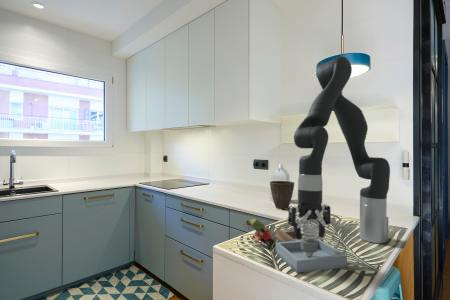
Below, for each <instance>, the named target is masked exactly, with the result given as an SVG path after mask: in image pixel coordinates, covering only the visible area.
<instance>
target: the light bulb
mask: <svg viewBox="0 0 450 300" xmlns="http://www.w3.org/2000/svg"><path fill="white" fill-rule="evenodd" d="M300 228H301V230H302V231H301V233H302V234H303V235H312V236H303V237H301V249H302V250H304V251H305V255H306V256H308V257H310V256H312V255H313V253H314V252H316V251H317V248H318V242H317V241H316V238H317V237H319V234H318V233H319V224H318V222H317V221H316V220H313V219H311V220H306V221H305V222H304V223H303V224H302V225H301V227H300Z"/></svg>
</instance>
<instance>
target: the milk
mask: <svg viewBox="0 0 450 300" xmlns="http://www.w3.org/2000/svg"><path fill="white" fill-rule="evenodd" d="M290 179H291V178H290V174H289V172H288V170H287V169H285V168H284V165H283V164H282V163H281V164H280V163H279V164H278V169H276V170H275V171H274V172H273V173H272V174H271V181H289V182H291V181H290ZM271 181H270V182H271ZM269 197H270V198H269V201H273V197H272V193H271V192H270V196H269Z"/></svg>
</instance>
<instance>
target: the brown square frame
mask: <svg viewBox="0 0 450 300" xmlns="http://www.w3.org/2000/svg"><path fill="white" fill-rule="evenodd" d="M301 231H302V230H301ZM303 236H312V235H303V234H302V233H301V239H302V237H303ZM275 237H276V238H277V239H278V240H280V242H290V241H301V239H300V240H298V239H296V238H295V236H294V228H293V229H278V230H275ZM316 239H320V240H321V241H323V242H324V239H323V238H321V237H319V236H318V237H317V238H316Z"/></svg>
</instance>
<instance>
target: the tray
mask: <svg viewBox="0 0 450 300" xmlns="http://www.w3.org/2000/svg"><path fill="white" fill-rule="evenodd" d="M316 241H317V242H318V248H317V251H316V252H314V253H313V255H312V256H310V257H308V256H306V255H305V251H304V250H302V249H301V241H290V242H282V241H279V242H275V254H276V255H277V256H278V257H280V258H281V260H283V262H285V264H287V265H288V266H289V267H290V268H291V269H292V270H293V271H294V272H295V273H297V274H299V273H307V272H317V271H325V270H333V269H343V268H347V267H348V255H346V254H345V253H343V252H341V251H340V250H338V249H336V248H335V247H334V246H332V245H330V244H328V243H327V242H323V241H321V240H320V239H316Z"/></svg>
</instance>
